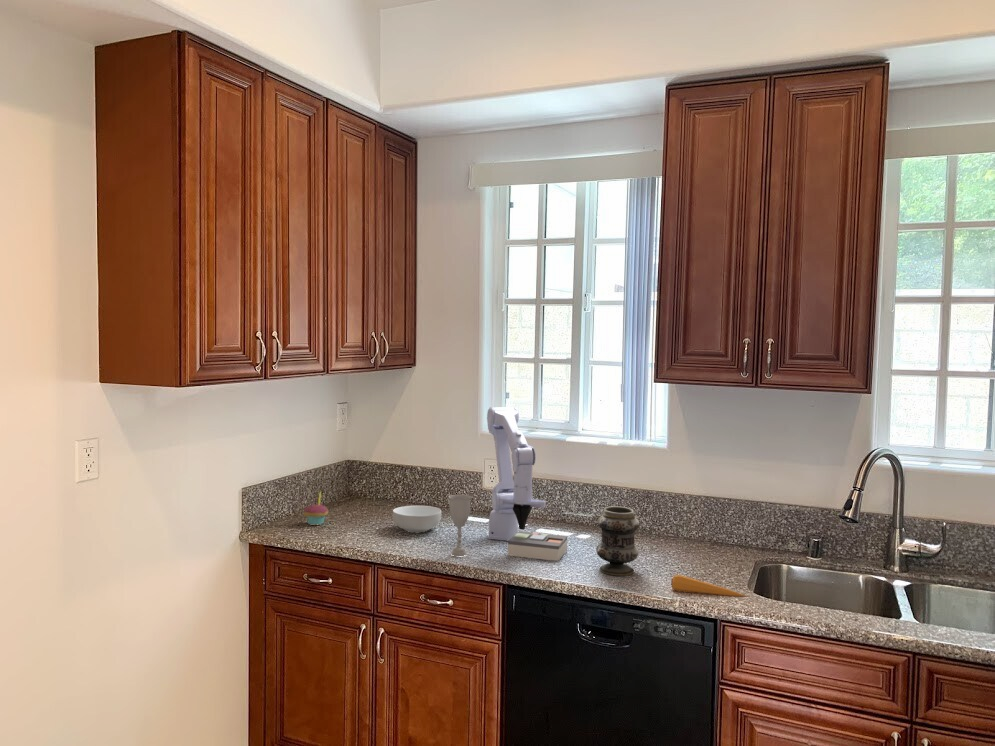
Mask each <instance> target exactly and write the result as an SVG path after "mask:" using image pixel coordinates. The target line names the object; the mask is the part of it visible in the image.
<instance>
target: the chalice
mask: <svg viewBox="0 0 995 746" xmlns="http://www.w3.org/2000/svg"><path fill="white" fill-rule="evenodd" d="M448 499H449V514H450V515H449V516H450V518H451V520H452V522H453V524H454V526H455V527H457V533H456V535H457V538H456V540H457V545H456V546H455V547H454V548H453V549H452V552H451V554H452V555H454V556H464V555H467V556H468V553H467V551H466V548H465V547H464V546H462V541H463V538H462V534H463V533H462V528H463V527H464V526H465V525H466V523H467V521H468V519H469V516H470V514H471V500H472V495H469V494H451V495H448Z"/></svg>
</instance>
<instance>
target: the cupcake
mask: <svg viewBox="0 0 995 746" xmlns="http://www.w3.org/2000/svg"><path fill="white" fill-rule="evenodd" d="M321 497H322V490H320V491H319V494H318V502H317V503H313V504H311V505H308V506H306V508H304V509H303V516H304V517H305V518H306V520H307V522H308V525H309V524H321V523H323V524H324V522H325V520H326V519H325V518H326V517H327V516H328V514H329V509H328V508H327V506H326V505H324V504H321Z"/></svg>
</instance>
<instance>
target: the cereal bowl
mask: <svg viewBox="0 0 995 746" xmlns="http://www.w3.org/2000/svg"><path fill="white" fill-rule="evenodd" d="M441 518H442V510H441V508H439V507H435V506H431V505H404V506H400V507H399V506H398V507H395V508H394V509H393V510H392V521H393V522H394V524H395V525H396V526H397V527H398V528H400V529H402V530H404V531H405V530H406V531H409V532H423V533H426V532H428V531H429V530H430V529H433V528H435V527H437V526H438V525H439V523H440V522H441ZM427 530H428V531H427ZM406 531H405V532H406ZM425 531H426V532H425ZM409 532H408V533H409Z"/></svg>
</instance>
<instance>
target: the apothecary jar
mask: <svg viewBox="0 0 995 746" xmlns="http://www.w3.org/2000/svg"><path fill="white" fill-rule="evenodd" d="M597 524H598V527H599V528H600V529H601V538H600V542H599V543H598V545H597V546H596V548H595V551H596V554H597V555H598V557H599V558H601V559H602V560H603V561H605V562H608V563H606V564H603V565H601V566H600V567H599V571H600V572H601V573H603V574H605V575H610V576H614V577H615V576H616V577H621V576H622V577H624V576H631V575H633V574H634V571H635V570H634V568H632V567H631V566H629V565H628V563H631V562H633V561H635V560H636V559H637V558H638V556H639V549H638V548H637V546H636V545H635V535H636V534H635V533H636V531H637V530H638V529H639V527H640V521H639V519H638V518H637V517H636V516H635V511H634V509H632V508H631V507H626V506H620V505H619V506H618V505H613V506H612V505H610V506H606V507H604V510H603V513H602V515H600V516H599V518H598V520H597Z"/></svg>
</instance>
